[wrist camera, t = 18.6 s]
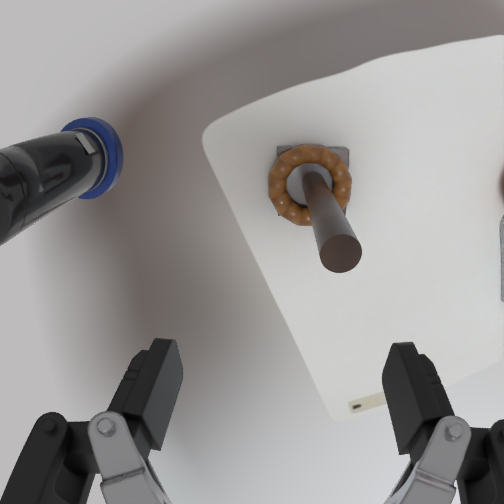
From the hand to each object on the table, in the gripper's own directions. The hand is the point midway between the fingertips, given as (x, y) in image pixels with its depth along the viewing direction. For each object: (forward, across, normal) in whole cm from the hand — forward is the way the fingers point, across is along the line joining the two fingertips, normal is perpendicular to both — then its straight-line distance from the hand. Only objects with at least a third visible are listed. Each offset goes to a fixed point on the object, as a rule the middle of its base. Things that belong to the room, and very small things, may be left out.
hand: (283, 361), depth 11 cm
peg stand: (+28, -4, 0) cm, 28 cm away
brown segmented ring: (+26, -3, 0) cm, 26 cm away
